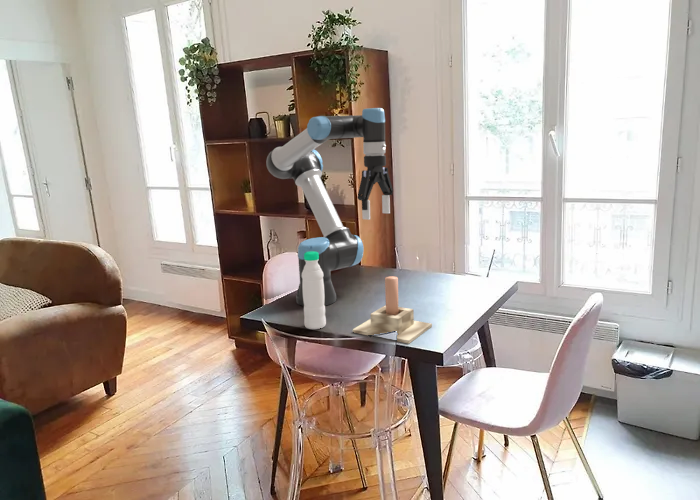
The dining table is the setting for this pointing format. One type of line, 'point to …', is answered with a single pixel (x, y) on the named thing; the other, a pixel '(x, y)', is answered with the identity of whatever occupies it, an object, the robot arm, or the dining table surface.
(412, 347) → the dining table surface
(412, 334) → the socket block
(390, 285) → the dowel
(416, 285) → the dining table surface
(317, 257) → the water bottle
